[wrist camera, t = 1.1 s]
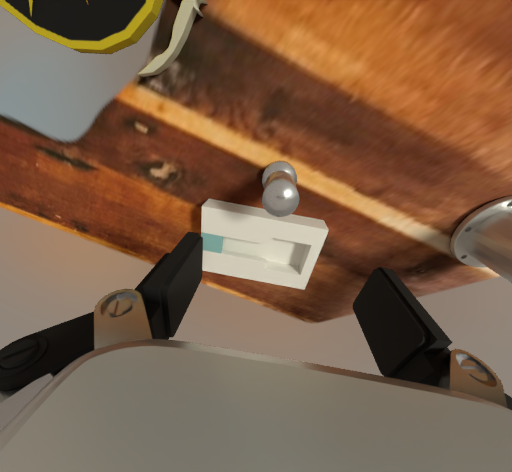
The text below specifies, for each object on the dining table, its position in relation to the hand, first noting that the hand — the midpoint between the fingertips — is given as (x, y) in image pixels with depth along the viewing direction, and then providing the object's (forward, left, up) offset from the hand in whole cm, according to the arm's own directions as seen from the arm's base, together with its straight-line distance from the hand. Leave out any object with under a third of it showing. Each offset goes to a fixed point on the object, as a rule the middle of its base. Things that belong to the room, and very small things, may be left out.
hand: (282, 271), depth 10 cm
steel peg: (0, 0, -22) cm, 22 cm away
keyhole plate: (+1, +12, -22) cm, 25 cm away
